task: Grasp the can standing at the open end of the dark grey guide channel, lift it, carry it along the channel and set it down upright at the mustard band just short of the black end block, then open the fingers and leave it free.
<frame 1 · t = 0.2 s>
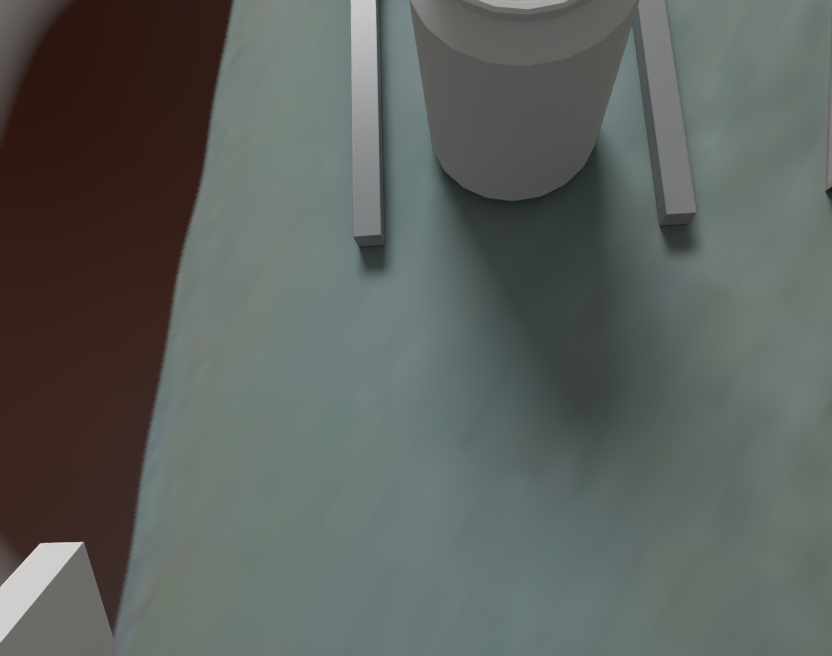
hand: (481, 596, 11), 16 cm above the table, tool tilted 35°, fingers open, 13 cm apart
can: (511, 136, 31), on the table
guide channel: (501, 4, 32), on the table
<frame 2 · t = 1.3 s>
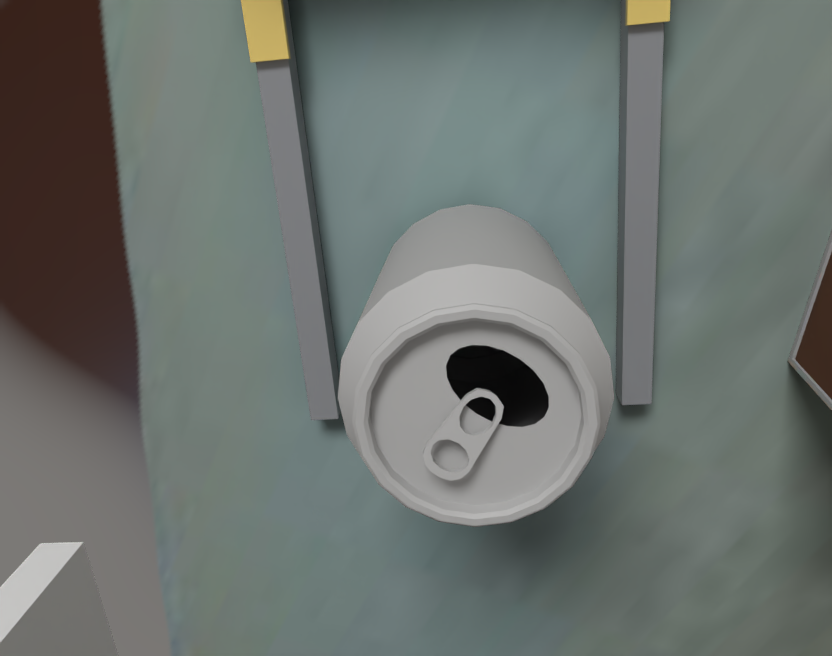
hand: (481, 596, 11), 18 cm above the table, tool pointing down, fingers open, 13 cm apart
can: (469, 289, 28), on the table
guide channel: (459, 115, 26), on the table
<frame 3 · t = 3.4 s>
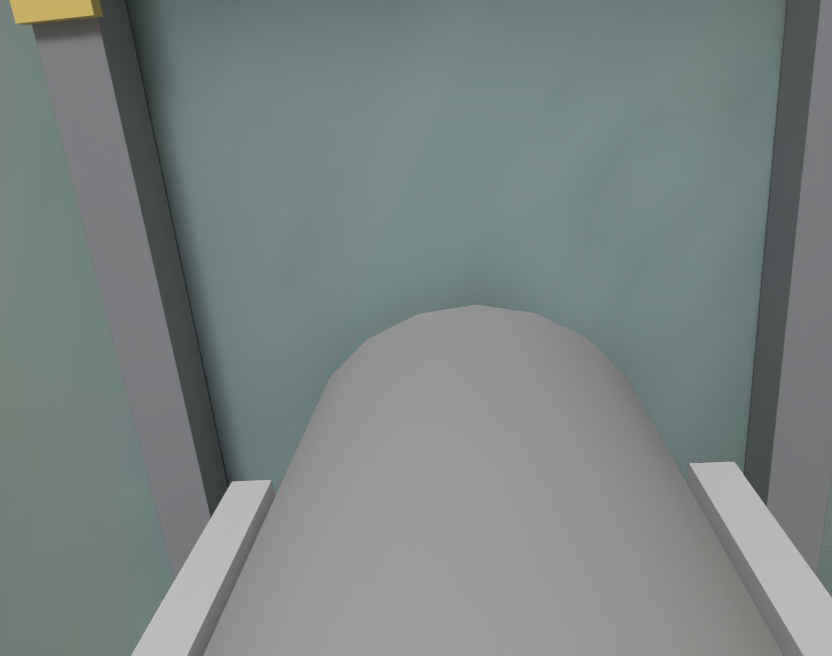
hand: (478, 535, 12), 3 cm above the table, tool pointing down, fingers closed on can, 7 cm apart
can: (475, 443, 15), on the table, touching gripper
guide channel: (455, 132, 13), on the table
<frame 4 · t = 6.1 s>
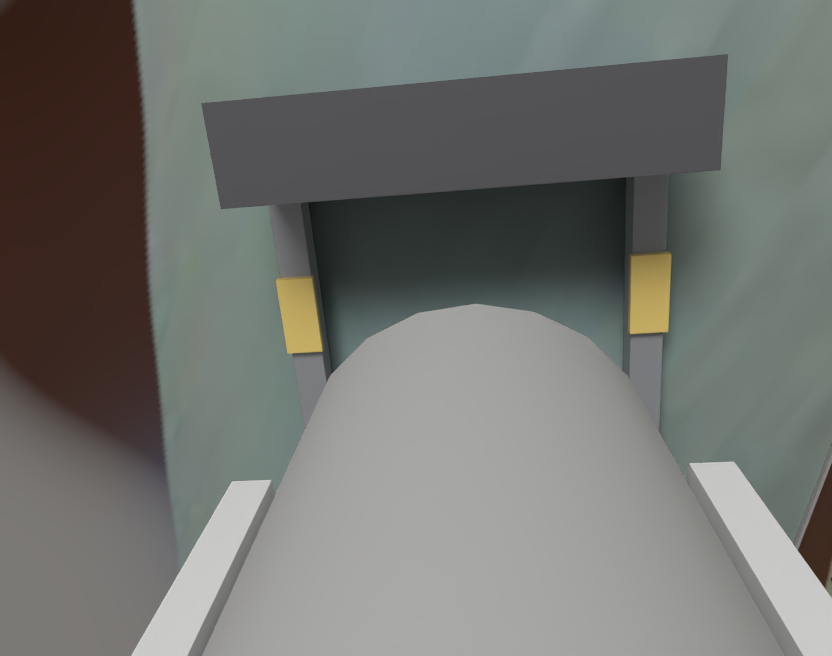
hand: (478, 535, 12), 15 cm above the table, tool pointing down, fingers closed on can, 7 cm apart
can: (475, 443, 15), point 12 cm above the table, touching gripper
guide channel: (475, 385, 28), on the table
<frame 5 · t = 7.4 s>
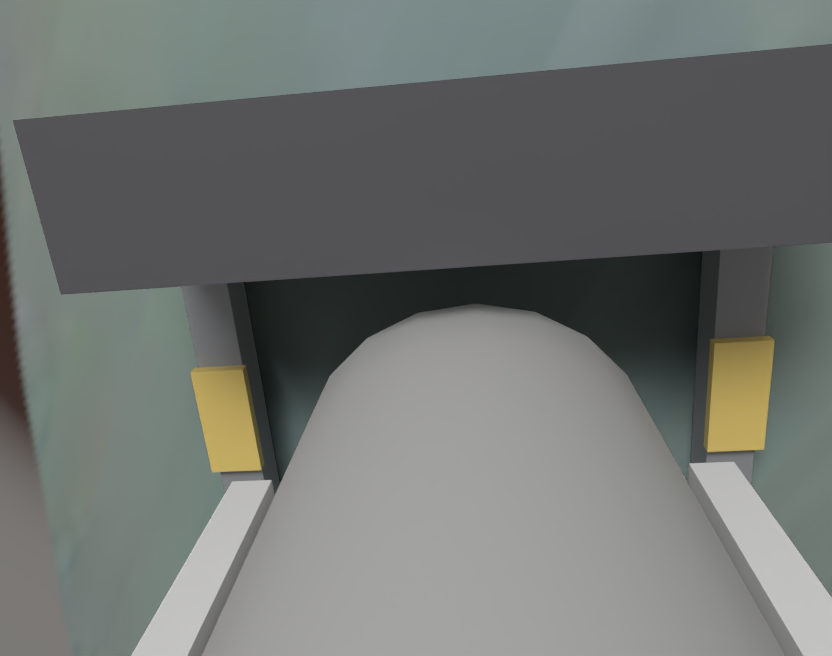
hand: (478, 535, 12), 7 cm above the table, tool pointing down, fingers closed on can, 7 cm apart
can: (475, 442, 15), point 3 cm above the table, touching gripper
guide channel: (481, 507, 20), on the table
when the fingers open (5 cm above the table, at t = 8.7 s): can drops 1 cm, on the table.
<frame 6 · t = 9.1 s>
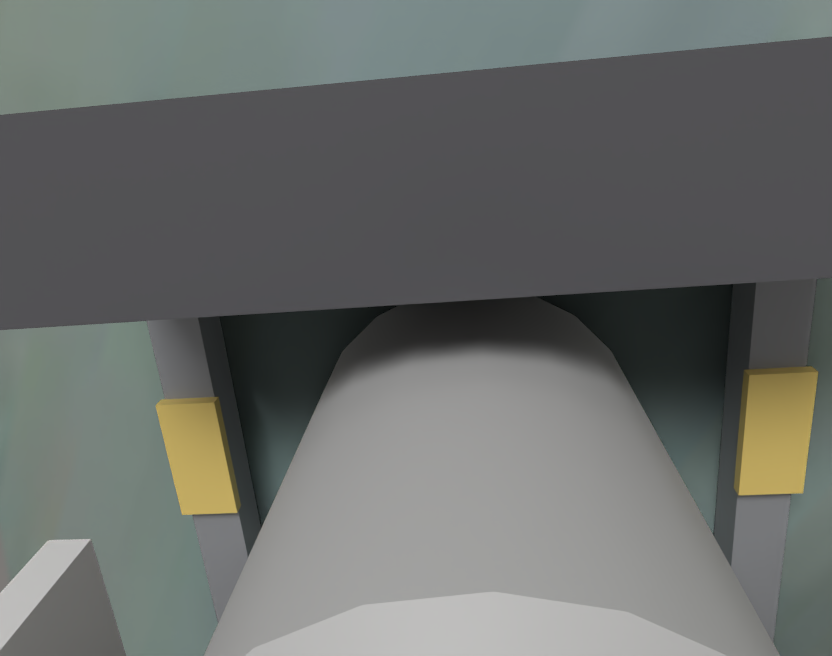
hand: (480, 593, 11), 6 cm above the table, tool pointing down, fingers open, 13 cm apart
can: (473, 415, 17), on the table
guide channel: (483, 550, 18), on the table
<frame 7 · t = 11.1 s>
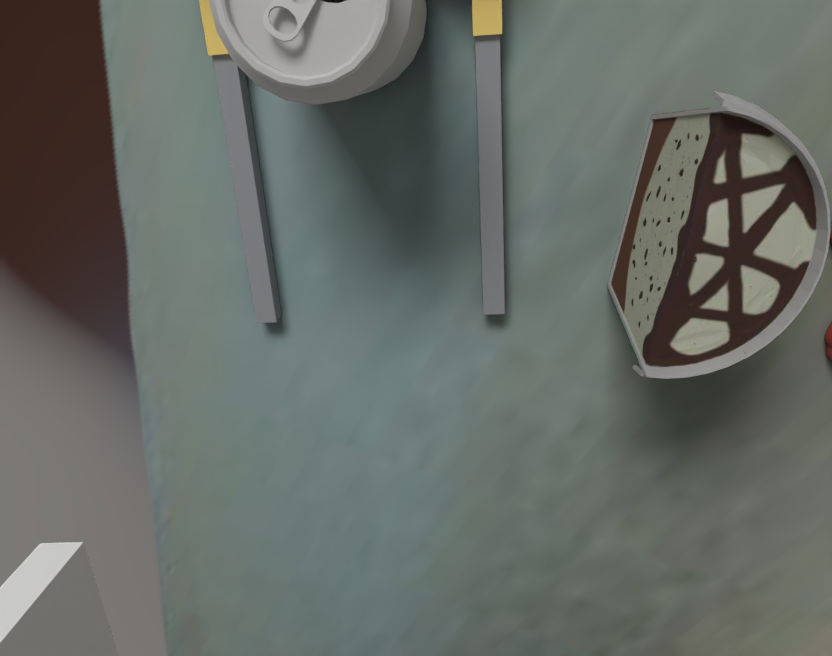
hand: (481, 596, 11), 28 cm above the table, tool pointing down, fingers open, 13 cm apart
food container: (683, 212, 36), on the table
can: (354, 14, 34), on the table
guide channel: (361, 97, 35), on the table
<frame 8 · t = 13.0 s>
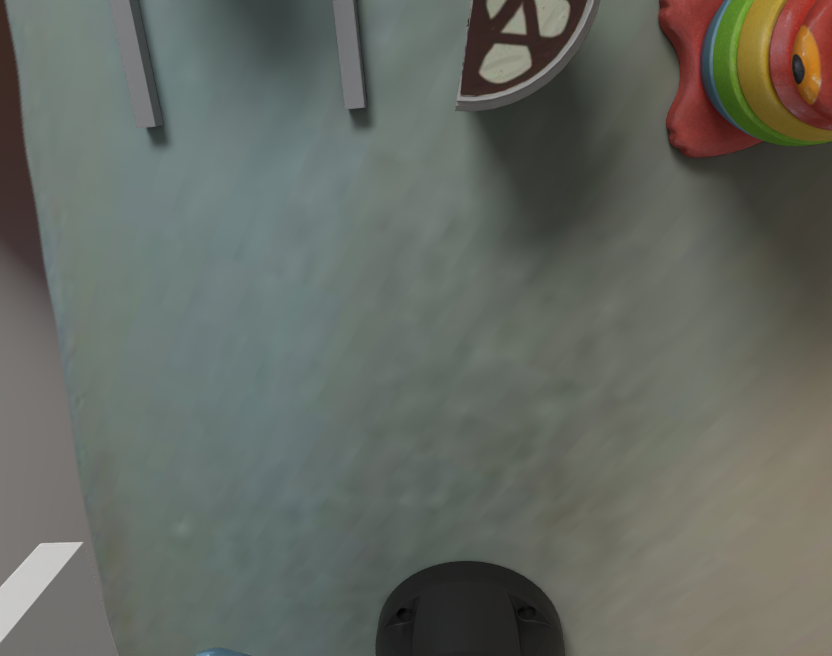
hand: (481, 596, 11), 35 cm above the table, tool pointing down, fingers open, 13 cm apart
food container: (523, 2, 39), on the table
stacking bear: (747, 54, 39), on the table
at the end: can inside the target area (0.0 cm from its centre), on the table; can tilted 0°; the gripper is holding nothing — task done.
